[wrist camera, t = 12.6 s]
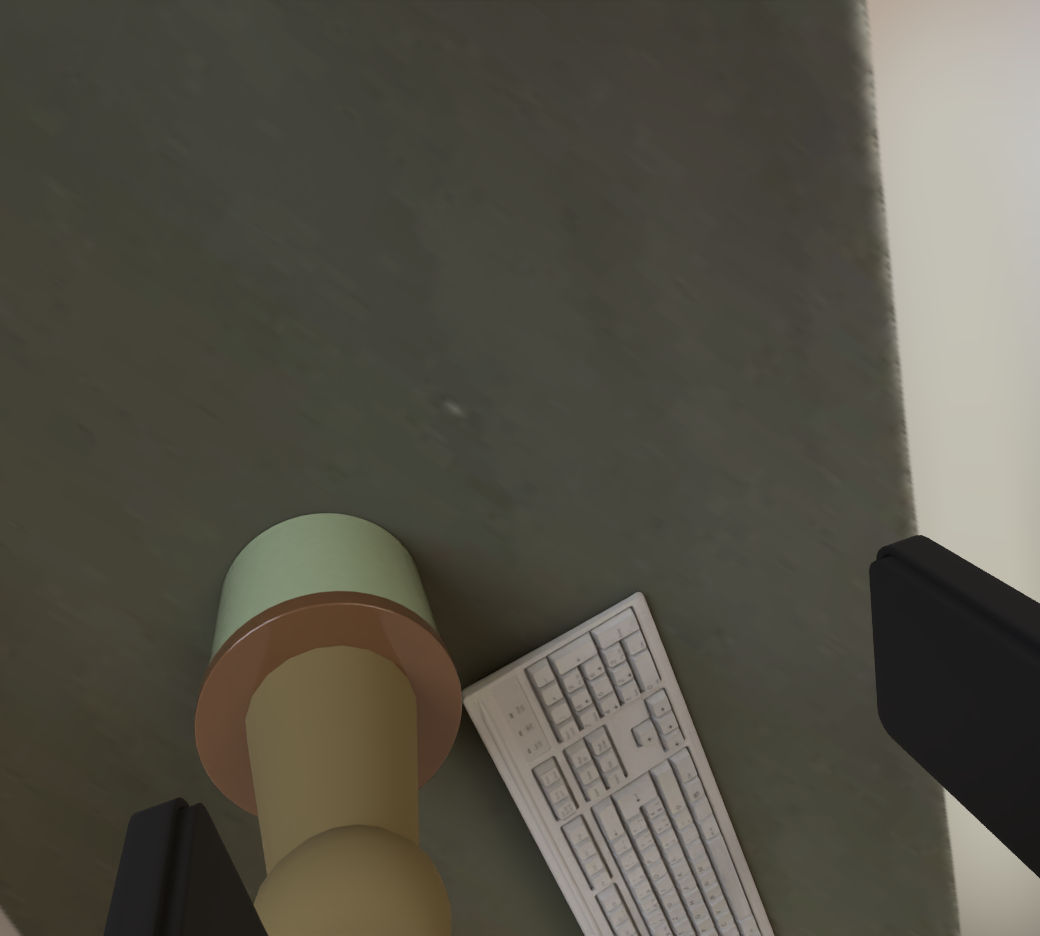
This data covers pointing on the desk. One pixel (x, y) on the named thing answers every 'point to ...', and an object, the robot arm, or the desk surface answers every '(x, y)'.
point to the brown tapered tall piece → (341, 800)
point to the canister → (320, 634)
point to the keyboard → (617, 782)
